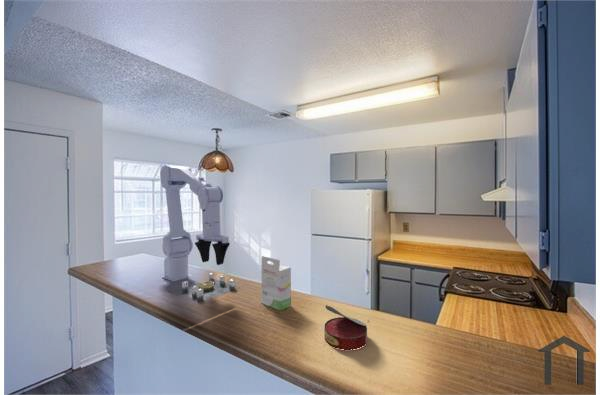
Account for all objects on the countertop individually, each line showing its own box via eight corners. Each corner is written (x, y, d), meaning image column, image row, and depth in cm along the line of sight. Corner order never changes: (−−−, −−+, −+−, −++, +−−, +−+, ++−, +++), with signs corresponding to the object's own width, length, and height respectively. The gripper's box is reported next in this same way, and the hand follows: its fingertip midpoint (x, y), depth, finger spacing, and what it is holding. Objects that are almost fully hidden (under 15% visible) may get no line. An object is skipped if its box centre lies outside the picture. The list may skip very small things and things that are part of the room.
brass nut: (195, 289, 98) (195, 283, 98) (208, 285, 102) (208, 279, 102) (204, 292, 95) (203, 286, 95) (216, 288, 99) (216, 282, 99)
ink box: (292, 306, 85) (292, 257, 84) (280, 311, 81) (279, 260, 81) (272, 298, 91) (272, 252, 90) (260, 303, 87) (260, 255, 87)
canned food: (326, 351, 70) (321, 308, 74) (367, 347, 69) (359, 304, 74) (326, 354, 59) (320, 304, 64) (374, 349, 59) (365, 299, 63)
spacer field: (174, 292, 96) (174, 282, 96) (214, 280, 109) (214, 271, 109) (199, 303, 87) (199, 292, 87) (240, 288, 99) (240, 279, 99)
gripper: (187, 223, 96) (189, 262, 96) (215, 224, 88) (217, 268, 88) (205, 221, 102) (206, 258, 102) (233, 222, 94) (234, 263, 94)
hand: (212, 262), depth 96 cm, fingers open, 7 cm apart
